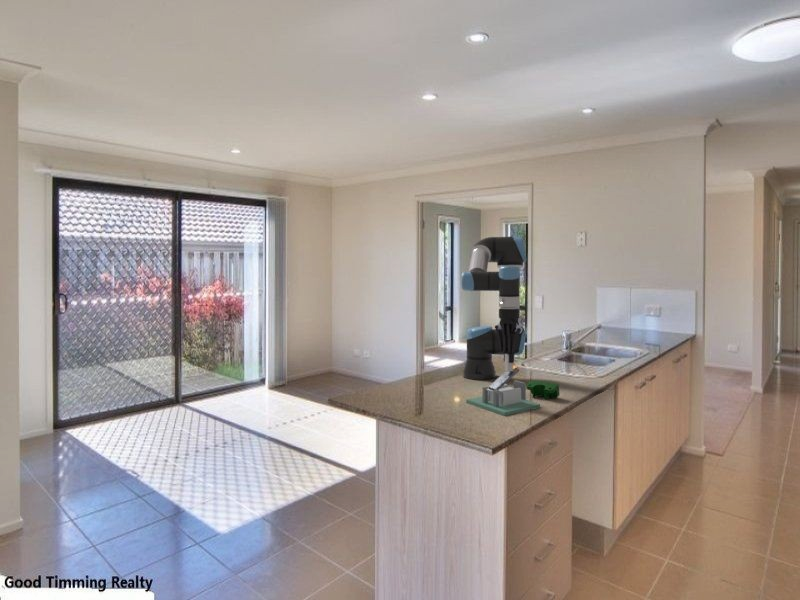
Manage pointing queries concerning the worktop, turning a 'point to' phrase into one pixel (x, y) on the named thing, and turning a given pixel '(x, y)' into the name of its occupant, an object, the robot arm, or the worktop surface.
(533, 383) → the clamp
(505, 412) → the board
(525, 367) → the worktop surface
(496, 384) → the grey flat bar
